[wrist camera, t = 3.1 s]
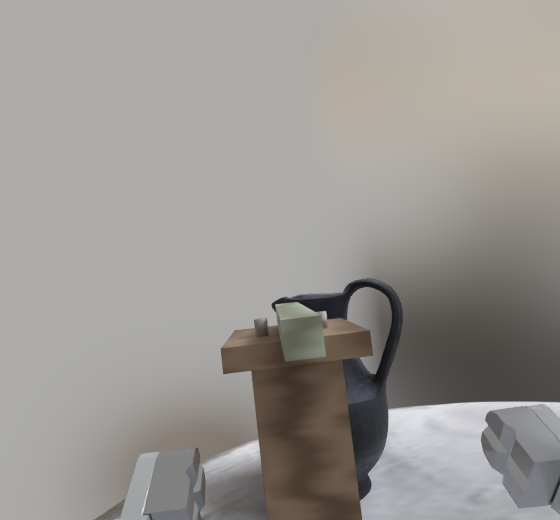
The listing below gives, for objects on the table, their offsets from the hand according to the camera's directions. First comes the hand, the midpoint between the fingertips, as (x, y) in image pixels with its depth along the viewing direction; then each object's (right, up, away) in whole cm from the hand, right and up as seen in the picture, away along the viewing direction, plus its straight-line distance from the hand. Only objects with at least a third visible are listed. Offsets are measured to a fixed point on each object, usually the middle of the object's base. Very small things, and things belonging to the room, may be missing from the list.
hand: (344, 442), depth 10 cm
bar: (-1, -1, +20) cm, 21 cm away
